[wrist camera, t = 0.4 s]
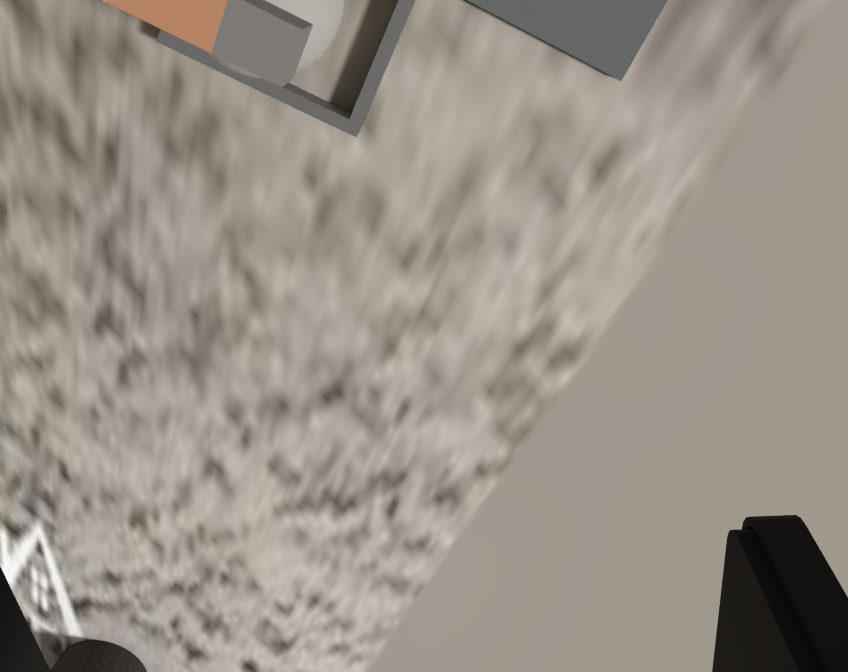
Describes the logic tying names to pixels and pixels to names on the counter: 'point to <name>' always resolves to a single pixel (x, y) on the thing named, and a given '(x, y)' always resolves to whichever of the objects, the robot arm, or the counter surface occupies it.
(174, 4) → the tan bar
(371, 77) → the square frame
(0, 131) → the counter surface
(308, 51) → the light bulb
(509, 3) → the mat
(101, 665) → the coffee cup
